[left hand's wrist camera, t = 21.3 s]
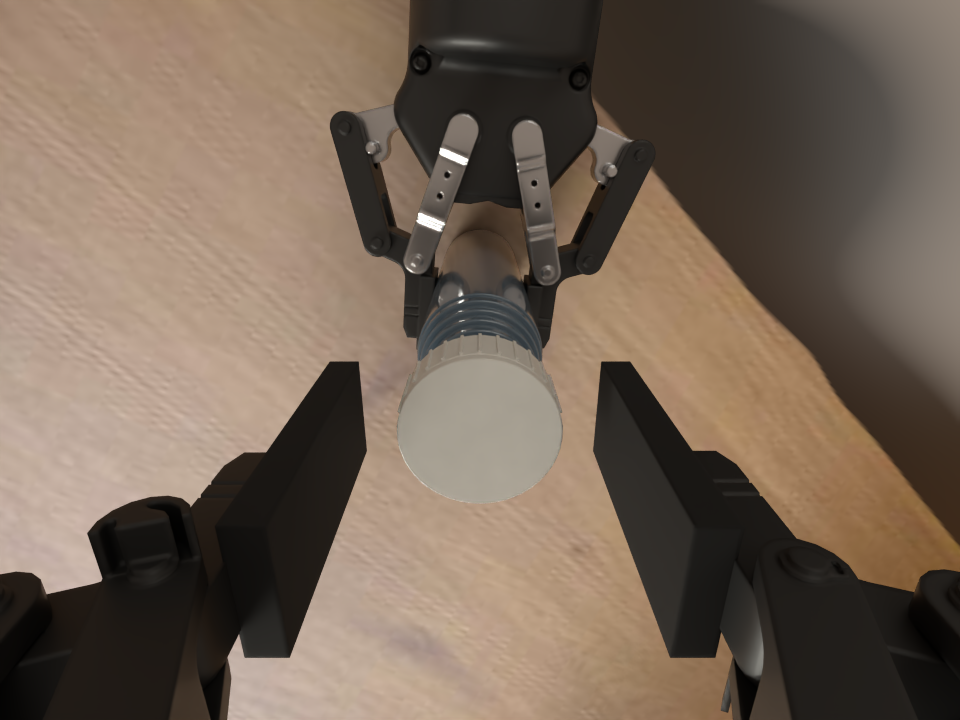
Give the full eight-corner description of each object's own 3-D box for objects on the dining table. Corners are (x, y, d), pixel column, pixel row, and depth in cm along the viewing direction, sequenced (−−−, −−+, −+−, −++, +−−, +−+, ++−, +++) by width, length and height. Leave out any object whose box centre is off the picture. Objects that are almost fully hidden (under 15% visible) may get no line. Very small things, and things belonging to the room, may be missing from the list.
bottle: (529, 275, 32) (593, 440, 14) (470, 313, 33) (459, 516, 15) (489, 214, 30) (503, 310, 13) (429, 256, 31) (362, 402, 13)
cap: (436, 484, 16) (430, 523, 14) (380, 360, 14) (367, 388, 13) (573, 444, 15) (584, 479, 13) (529, 311, 14) (536, 333, 12)
